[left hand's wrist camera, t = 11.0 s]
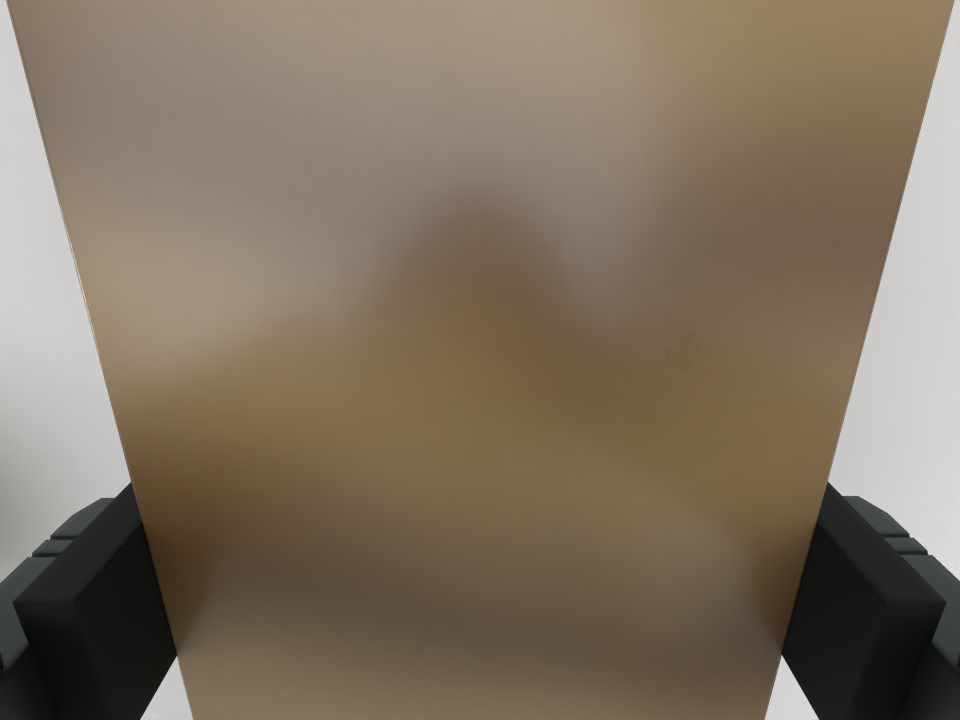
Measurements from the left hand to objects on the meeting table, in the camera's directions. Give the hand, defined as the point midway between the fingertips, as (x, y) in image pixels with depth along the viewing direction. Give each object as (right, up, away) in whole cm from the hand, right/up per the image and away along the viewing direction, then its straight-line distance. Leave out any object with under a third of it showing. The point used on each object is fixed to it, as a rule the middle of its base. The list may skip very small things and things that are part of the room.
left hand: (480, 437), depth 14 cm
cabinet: (0, +7, +1) cm, 7 cm away
